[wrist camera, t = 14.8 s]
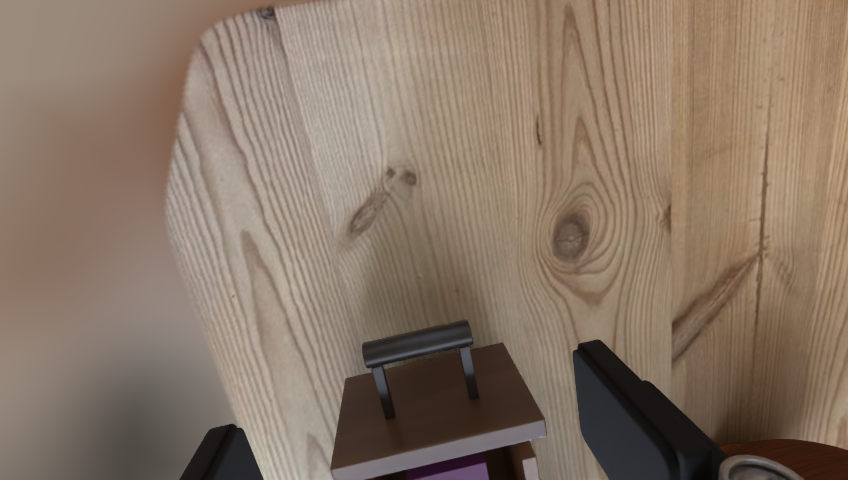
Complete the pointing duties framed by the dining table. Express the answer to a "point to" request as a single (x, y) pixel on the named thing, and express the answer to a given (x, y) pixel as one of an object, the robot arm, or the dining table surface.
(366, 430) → the drawer
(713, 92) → the dining table surface
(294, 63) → the dining table surface
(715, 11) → the dining table surface
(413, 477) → the cube
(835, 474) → the bowl
